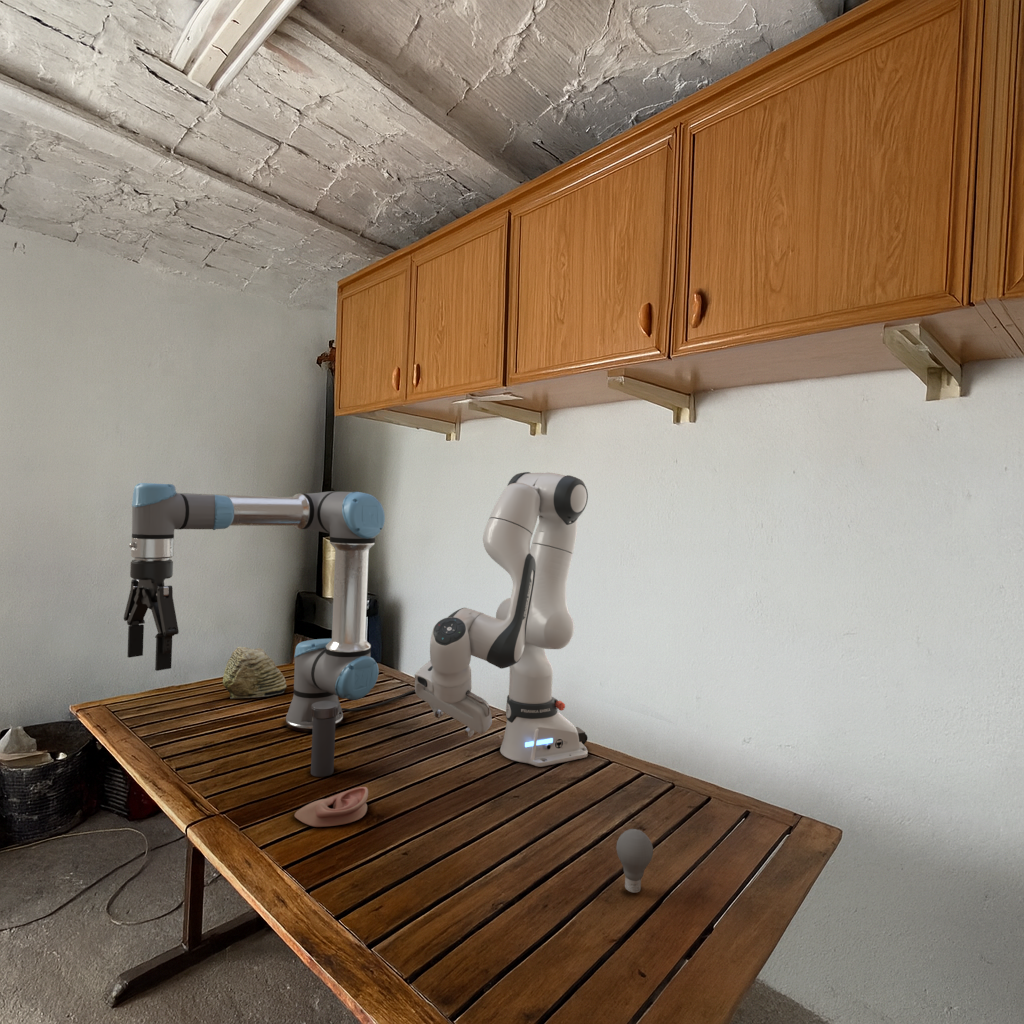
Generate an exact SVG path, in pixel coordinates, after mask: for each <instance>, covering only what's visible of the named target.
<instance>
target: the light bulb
mask: <svg viewBox="0 0 1024 1024" xmlns="http://www.w3.org/2000/svg"><path fill="white" fill-rule="evenodd" d="M615 849H616V854H617V857H618V859H619V861H620V863H621V865H622V867H623V873H624V874H623V875H624V876H625V878H624V888H625V890H627V891H628V892H630V893H634V894H635V893H639V892H640V891H641V889H642V887H641V886H642V879H643V877H644V875H645V871H646V868H647V867H648V866H649V864H650V863H651V861H652V859H653V855H654V847H653V843H652V841H651V838H649V836H648V835H647V834H646V833H645V832H643V831H642V830H641V829H636V828H629V829H627V830H625V831H623V832H622V833H621V834H620V835H619V837H618V839H617V841H616V847H615Z"/></svg>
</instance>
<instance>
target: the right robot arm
mask: <svg viewBox="0 0 1024 1024" xmlns="http://www.w3.org/2000/svg"><path fill="white" fill-rule="evenodd" d="M588 492H589V491H588V488H587V486H586V484H585V482H584V481H583V480H582V479H580V478H578V477H576V476H574V475H569V474H568V475H564V474H560V473H555V472H529V471H524V472H519V473H516V474H514V476H512V477H511V478H510V480H509V481H508V483H507V485H506V487H504V489H503V491H502V492H501V494H500V495H499V497H498V499H497V501H496V503H495V504H494V506H493V508H492V511H491V512H490V515H489V518H488V521H487V523H486V525H485V528H484V530H483V536H482V543H483V547H484V550H485V552H486V553H487V555H488V556H489V557H490V559H492V560H493V561H494V562H495V563H496V564H497V565H498V566H499V567H501V568H502V569H503V570H504V571H506V572H507V573H508V574H509V576H510V578H511V581H512V589H511V594H510V597H508V598H506V599H504V600H502V601H501V602H500V604H499V605H498V607H497V609H496V613H495V617H494V616H491V615H489V614H486V613H483V612H481V611H477V610H475V609H472V608H469V607H461V608H459V609H457V610H455V611H454V612H452V613H451V614H449V615H448V616H447V617H444V618H442V619H440V620H438V621H437V623H435V625H434V626H433V628H432V631H431V634H430V643H429V659H430V660H428V661H427V662H426V663H424V664H423V665H422V666H421V667H420V668H419V669H418V670H417V671H416V673H415V674H414V679H415V680H414V690H415V692H414V693H415V694H416V696H417V697H418V698H419V699H420V700H422V701H423V702H424V703H427V704H428V705H429V707H430V709H431V711H432V712H433V717H435V718H437V719H440V718H441V717H442V716H443V715H444V714H446V715H447V716H449V717H451V718H453V719H454V720H456V721H457V722H459V723H460V724H462V725H464V726H466V728H465V729H464V735H465V736H467V738H468V737H469V738H471V737H473V736H474V735H475V732H476V733H477V734H479V735H482V734H485V733H486V732H487V731H488V730H489V729H490V728H491V726H492V725H493V716H492V711H491V707H490V704H489V702H488V701H486V699H484V698H482V697H481V696H479V695H477V694H475V693H474V692H472V689H473V687H472V686H473V683H472V682H473V681H472V668H471V667H472V666H471V665H470V663H471V660H472V657H475V658H478V659H480V660H483V661H486V662H487V663H488V664H491V665H493V666H495V667H497V668H499V669H501V670H502V669H506V668H508V669H509V677H508V678H509V680H508V682H509V683H508V694H507V695H506V705H505V718H506V724H505V729H504V735H503V738H502V742H501V745H500V749H499V752H500V754H501V755H502V756H503V757H505V758H506V759H508V760H511V761H514V762H519V763H524V764H529V765H531V766H535V767H540V768H543V767H547V766H551V765H557V764H561V763H562V764H563V763H567V762H571V761H576V760H581V759H585V758H587V757H588V755H589V753H588V748H587V746H585V744H586V743H587V742H588V735H587V734H586V732H585V731H584V730H582V729H581V728H580V727H579V726H575V725H574V723H572V722H571V721H570V720H569V719H568V718H566V717H565V716H564V715H563V714H562V713H560V711H562V712H563V711H564V710H565V709H566V704H565V703H564V702H563V701H562V700H558V698H556V697H554V696H553V678H554V669H553V665H552V663H551V662H550V660H549V658H548V656H547V654H546V650H562V649H564V648H565V647H567V646H568V645H569V644H570V642H571V641H572V639H573V637H574V634H575V622H574V618H573V617H572V615H571V613H570V610H569V607H568V600H567V584H568V577H569V573H570V569H571V563H572V559H573V555H574V552H575V547H576V541H577V532H578V519H579V517H581V515H582V514H583V512H584V511H585V509H586V507H587V504H588V499H589V493H588ZM537 521H538V524H537ZM536 524H537V525H536ZM534 531H535V532H534ZM533 534H534V535H533ZM532 537H533V538H532Z"/></svg>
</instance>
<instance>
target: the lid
mask: <svg viewBox="0 0 1024 1024" xmlns="http://www.w3.org/2000/svg"><path fill="white" fill-rule="evenodd" d="M337 714H338V703H336V702H334V701H319V702H315V703H313V704H312V707H311V716H312V717H314V718H319V719H326V718H332V717H335V716H336V715H337Z"/></svg>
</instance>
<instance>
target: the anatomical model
mask: <svg viewBox="0 0 1024 1024" xmlns="http://www.w3.org/2000/svg"><path fill="white" fill-rule="evenodd" d="M368 797H369V789H368V787H366V786H360V787H355V788H352V789H348V790H346V791H341V792H340V793H337V794H334V795H332V796H330V797H327V798H322V799H318V800H315V801H312V802H309V803H308V804H306V805H304V806H302V807H301V808H299V809H298V810H297V811H296V812H295V813H294V818H295V819H297V820H298V821H300V822H301V823H303V824H305V825H308V826H310V827H314V828H315V827H316V828H323V827H334V826H341V825H346V824H351V823H353V822H356V821H358V820H361V819H362V818H363V817H364V816H365V815H366V814H367V811H368V804H367V800H368Z"/></svg>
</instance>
